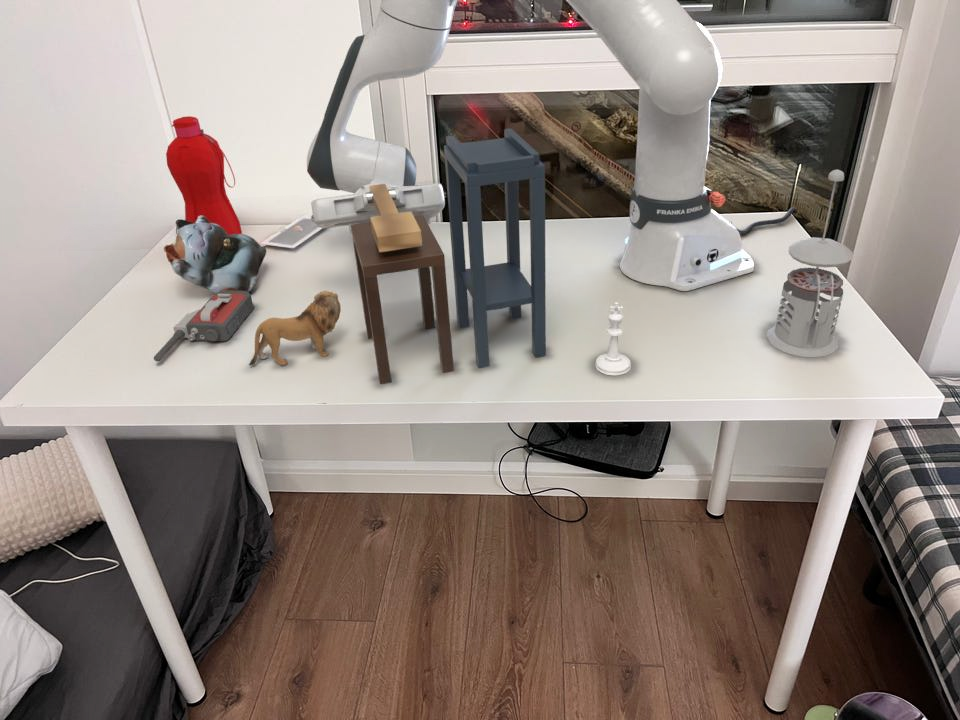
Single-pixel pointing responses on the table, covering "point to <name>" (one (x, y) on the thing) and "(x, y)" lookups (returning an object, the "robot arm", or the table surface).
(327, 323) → the lion figurine
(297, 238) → the touchpad
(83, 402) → the table surface
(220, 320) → the walkie-talkie
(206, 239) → the lucky cat figurine
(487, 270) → the tall stand
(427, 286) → the low stand
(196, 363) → the table surface
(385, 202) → the crossed tan timber pieces
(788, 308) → the french press
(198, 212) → the water bottle
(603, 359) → the chess piece
